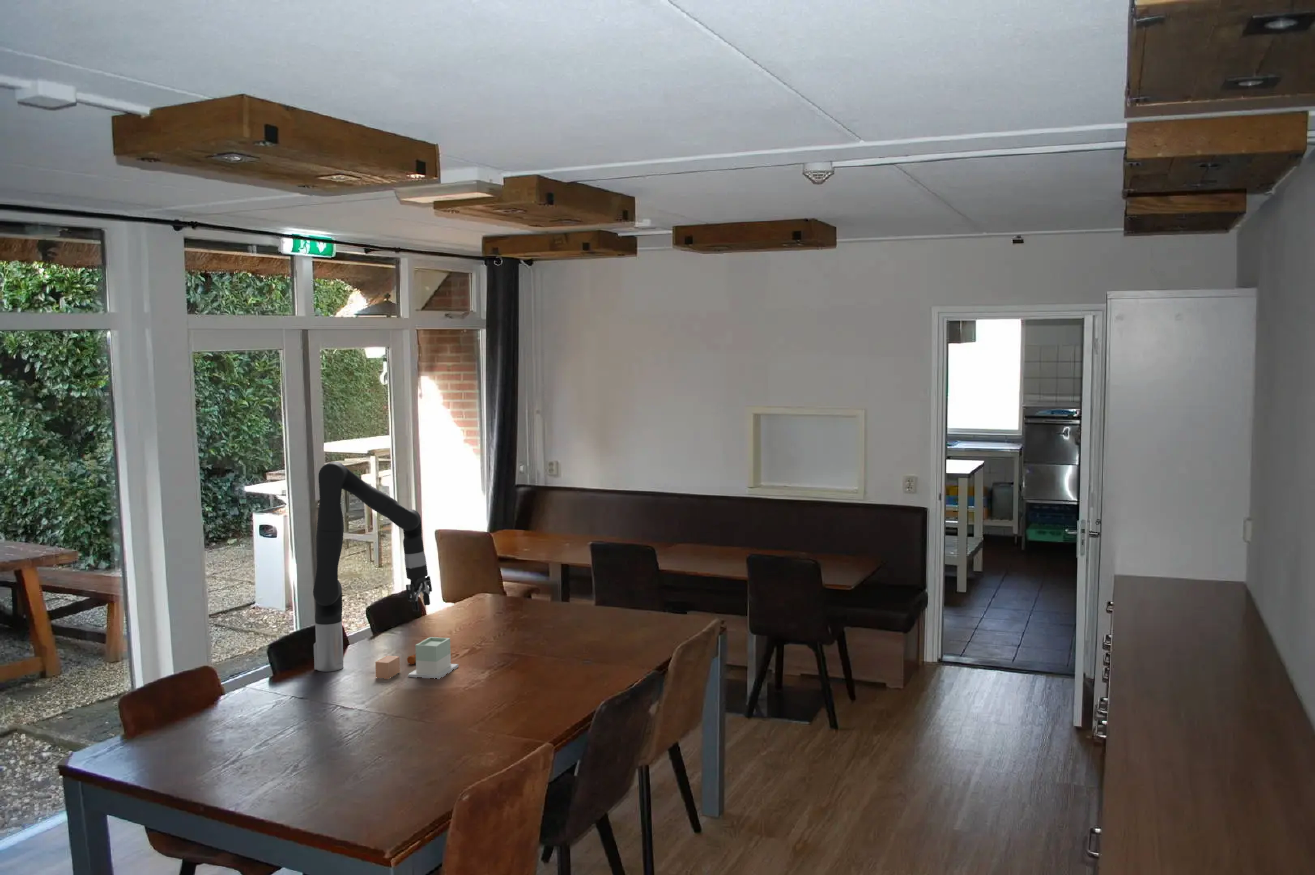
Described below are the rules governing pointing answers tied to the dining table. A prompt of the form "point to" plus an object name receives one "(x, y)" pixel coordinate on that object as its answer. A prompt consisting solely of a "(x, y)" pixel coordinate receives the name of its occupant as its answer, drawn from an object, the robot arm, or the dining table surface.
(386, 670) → the brick
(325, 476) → the robot arm
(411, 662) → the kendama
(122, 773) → the dining table surface
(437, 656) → the mint open-top box
